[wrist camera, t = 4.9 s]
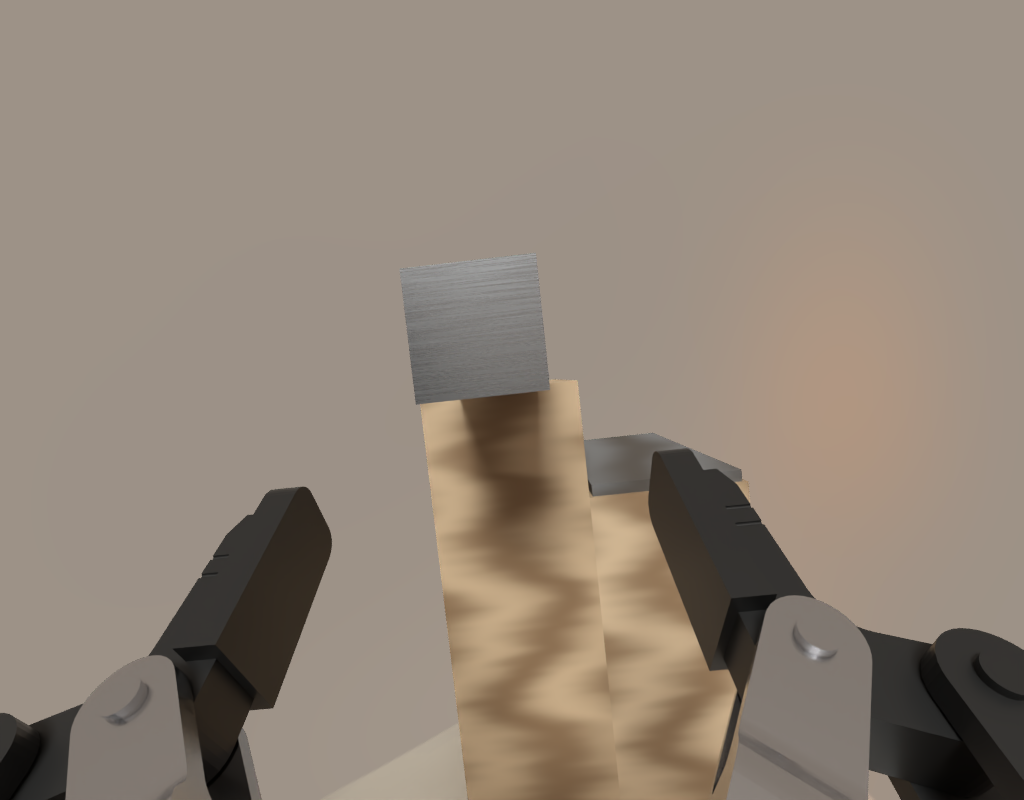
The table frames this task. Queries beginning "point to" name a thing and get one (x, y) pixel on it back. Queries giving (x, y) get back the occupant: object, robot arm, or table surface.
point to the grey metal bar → (475, 328)
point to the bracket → (566, 608)
